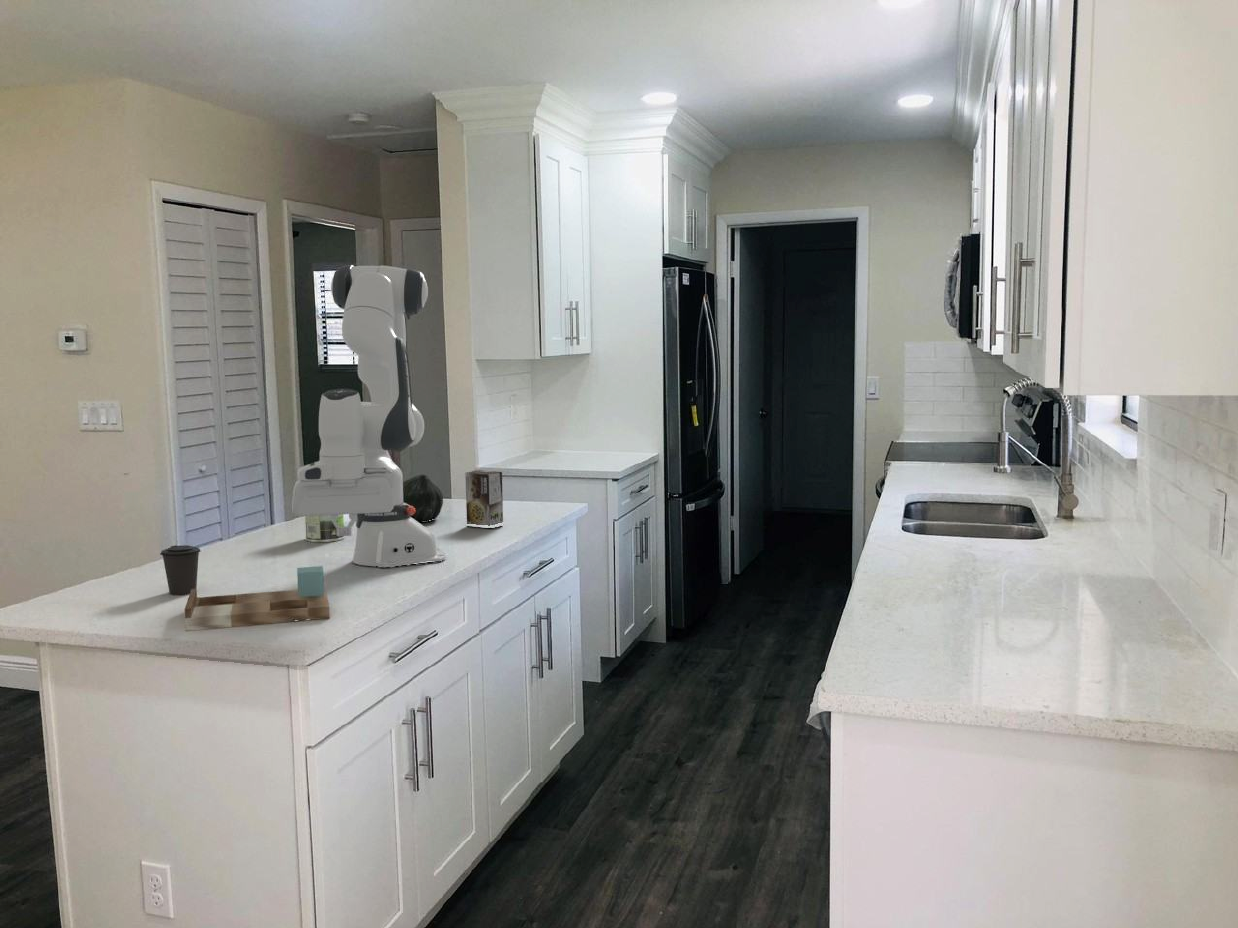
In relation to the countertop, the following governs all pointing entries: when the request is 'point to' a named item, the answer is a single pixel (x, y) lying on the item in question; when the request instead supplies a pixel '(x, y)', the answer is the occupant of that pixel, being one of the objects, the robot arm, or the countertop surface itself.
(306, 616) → the board
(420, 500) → the squash
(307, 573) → the teal block
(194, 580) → the coffee cup
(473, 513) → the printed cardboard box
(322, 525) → the coffee can
